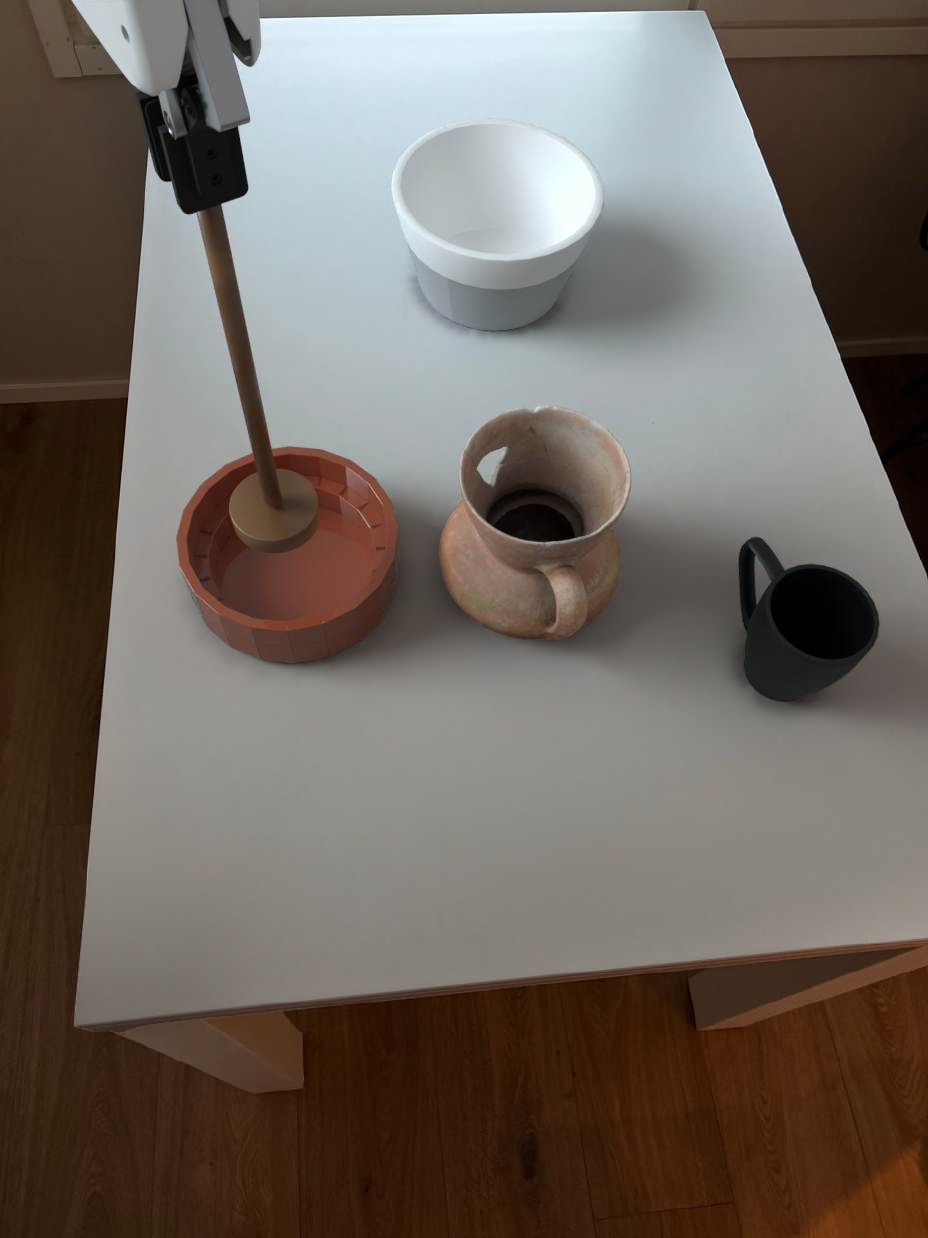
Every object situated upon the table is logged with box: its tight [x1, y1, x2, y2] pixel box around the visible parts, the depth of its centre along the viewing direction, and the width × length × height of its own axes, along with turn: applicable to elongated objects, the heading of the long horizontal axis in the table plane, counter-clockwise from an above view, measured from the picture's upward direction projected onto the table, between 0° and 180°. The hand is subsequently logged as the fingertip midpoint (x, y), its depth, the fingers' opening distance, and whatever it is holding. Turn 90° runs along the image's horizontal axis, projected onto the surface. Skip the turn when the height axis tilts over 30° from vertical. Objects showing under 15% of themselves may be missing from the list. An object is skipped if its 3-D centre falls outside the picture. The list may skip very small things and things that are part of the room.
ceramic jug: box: [438, 404, 632, 641], centre depth 73 cm, size 18×14×14 cm
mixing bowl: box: [175, 445, 400, 664], centre depth 76 cm, size 17×17×6 cm
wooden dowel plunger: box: [178, 74, 320, 553], centre depth 53 cm, size 6×6×32 cm
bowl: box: [390, 118, 605, 332], centre depth 91 cm, size 19×19×11 cm
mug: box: [738, 536, 880, 703], centre depth 73 cm, size 8×12×10 cm
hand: (202, 183), depth 43 cm, fingers closed on wooden dowel plunger
